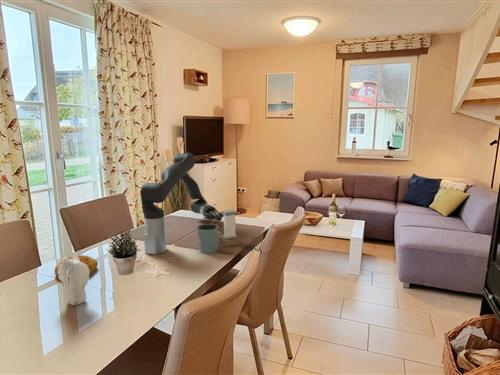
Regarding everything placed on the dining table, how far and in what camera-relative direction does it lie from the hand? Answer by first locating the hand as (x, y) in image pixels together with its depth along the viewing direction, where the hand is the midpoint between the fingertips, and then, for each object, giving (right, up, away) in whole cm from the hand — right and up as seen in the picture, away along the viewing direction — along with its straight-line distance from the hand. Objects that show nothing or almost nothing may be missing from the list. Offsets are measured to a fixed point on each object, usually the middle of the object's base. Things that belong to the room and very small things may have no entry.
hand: (219, 219), depth 176 cm
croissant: (-55, -19, -42) cm, 72 cm away
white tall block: (+6, -8, -9) cm, 14 cm away
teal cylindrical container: (-4, -14, -18) cm, 23 cm away
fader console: (+2, -10, -2) cm, 11 cm away
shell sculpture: (-44, -23, -63) cm, 80 cm away
